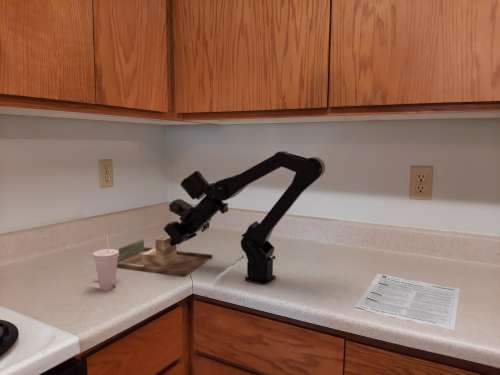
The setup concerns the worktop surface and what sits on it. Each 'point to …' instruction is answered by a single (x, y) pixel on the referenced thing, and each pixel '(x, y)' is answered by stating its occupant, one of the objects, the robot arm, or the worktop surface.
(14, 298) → the worktop surface
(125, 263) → the brown wooden tray
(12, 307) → the worktop surface
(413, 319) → the worktop surface
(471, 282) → the worktop surface
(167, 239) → the step block
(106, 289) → the smoothie
